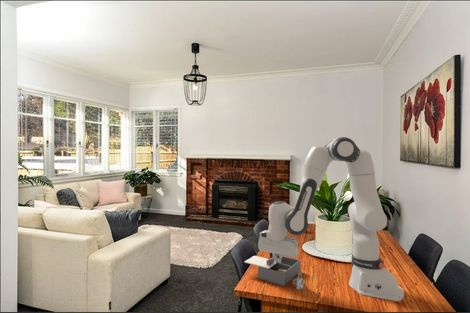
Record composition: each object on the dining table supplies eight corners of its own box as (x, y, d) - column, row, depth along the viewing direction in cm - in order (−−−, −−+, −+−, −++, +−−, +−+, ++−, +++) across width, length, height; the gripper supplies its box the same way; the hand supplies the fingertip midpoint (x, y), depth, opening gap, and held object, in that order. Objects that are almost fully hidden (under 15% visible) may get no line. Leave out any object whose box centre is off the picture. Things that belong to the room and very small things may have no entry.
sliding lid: (278, 262, 141) (278, 257, 141) (268, 268, 133) (268, 263, 133) (254, 256, 149) (254, 251, 149) (244, 262, 141) (244, 257, 141)
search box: (300, 271, 145) (300, 260, 145) (284, 286, 128) (284, 273, 128) (276, 265, 153) (276, 254, 153) (258, 278, 136) (258, 266, 136)
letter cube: (287, 278, 135) (287, 270, 135) (284, 281, 131) (284, 273, 131) (280, 276, 137) (280, 268, 137) (276, 279, 134) (276, 271, 134)
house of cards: (285, 280, 135) (285, 264, 135) (303, 282, 133) (303, 266, 133) (285, 289, 126) (285, 272, 126) (305, 291, 125) (305, 274, 125)
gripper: (300, 236, 132) (300, 265, 132) (262, 229, 144) (262, 256, 144) (295, 239, 127) (295, 269, 127) (256, 232, 139) (256, 260, 139)
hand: (277, 262), depth 136 cm, fingers closed
